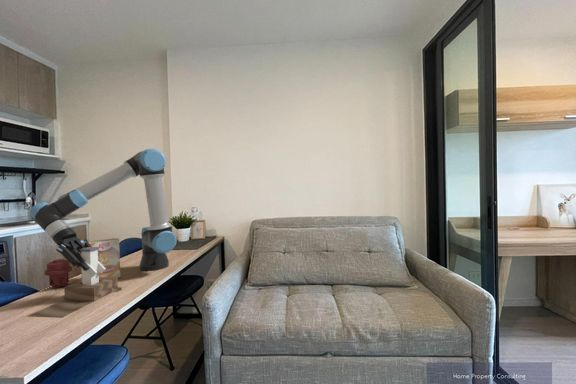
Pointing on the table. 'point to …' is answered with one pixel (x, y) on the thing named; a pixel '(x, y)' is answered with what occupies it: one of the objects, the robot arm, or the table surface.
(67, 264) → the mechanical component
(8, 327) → the table surface
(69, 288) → the wooden socket base
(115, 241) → the coffeecake box
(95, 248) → the post
